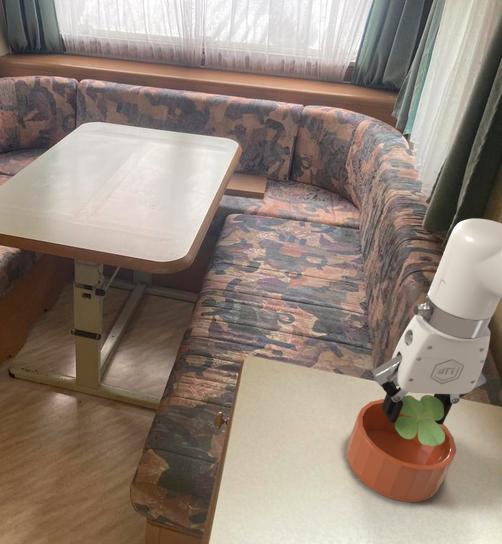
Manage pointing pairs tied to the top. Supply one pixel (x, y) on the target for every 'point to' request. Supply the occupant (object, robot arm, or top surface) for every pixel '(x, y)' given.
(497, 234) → the robot arm
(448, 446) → the planter
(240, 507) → the top surface
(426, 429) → the green leafy piece
